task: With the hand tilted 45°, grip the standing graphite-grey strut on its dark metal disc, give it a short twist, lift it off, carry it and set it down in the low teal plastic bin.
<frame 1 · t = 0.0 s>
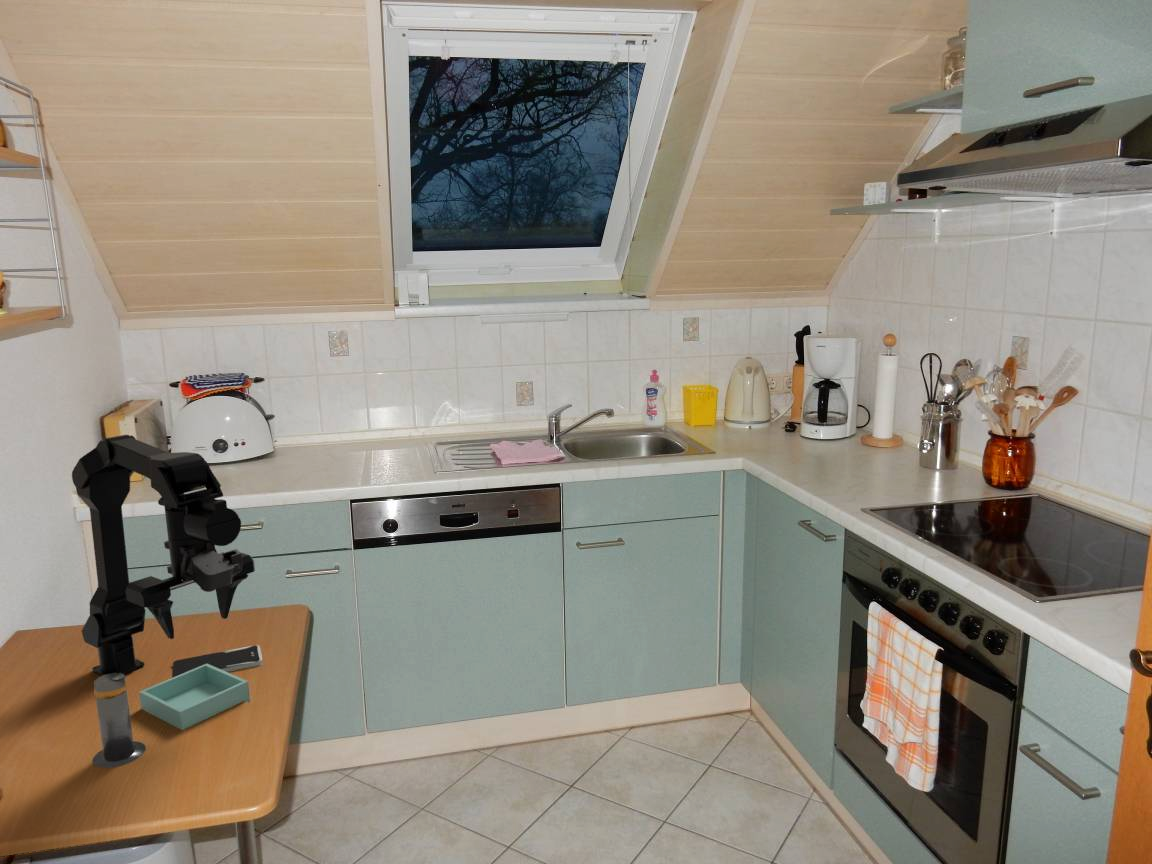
hand: (198, 628, 138), 15 cm above the table, tool pointing down, fingers open, 9 cm apart
smartphone: (218, 668, 158), on the table
bin: (196, 706, 142), on the table
strut: (119, 754, 128), point 1 cm above the table, touching dark metal disc
dark metal disc: (120, 757, 128), on the table
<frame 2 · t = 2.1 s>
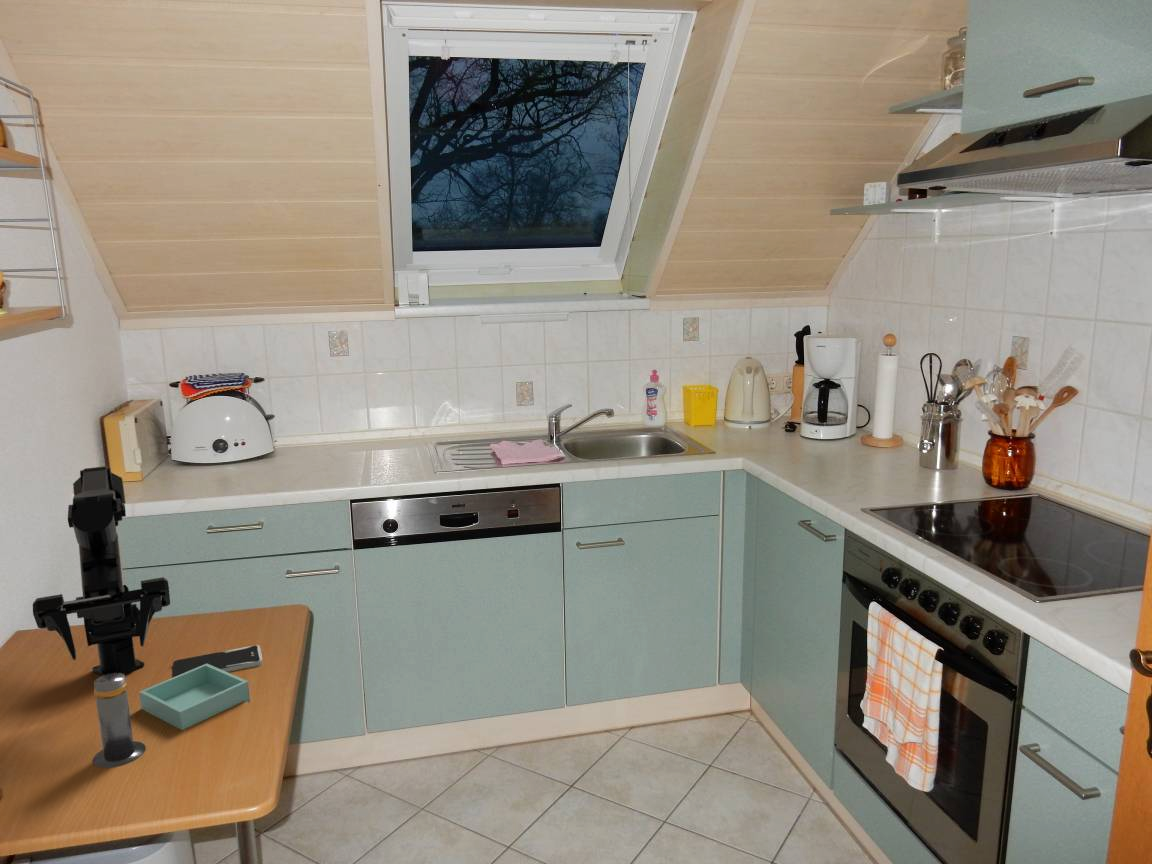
hand: (108, 652, 132), 13 cm above the table, tool tilted 45°, fingers open, 9 cm apart
nothing on the table moved.
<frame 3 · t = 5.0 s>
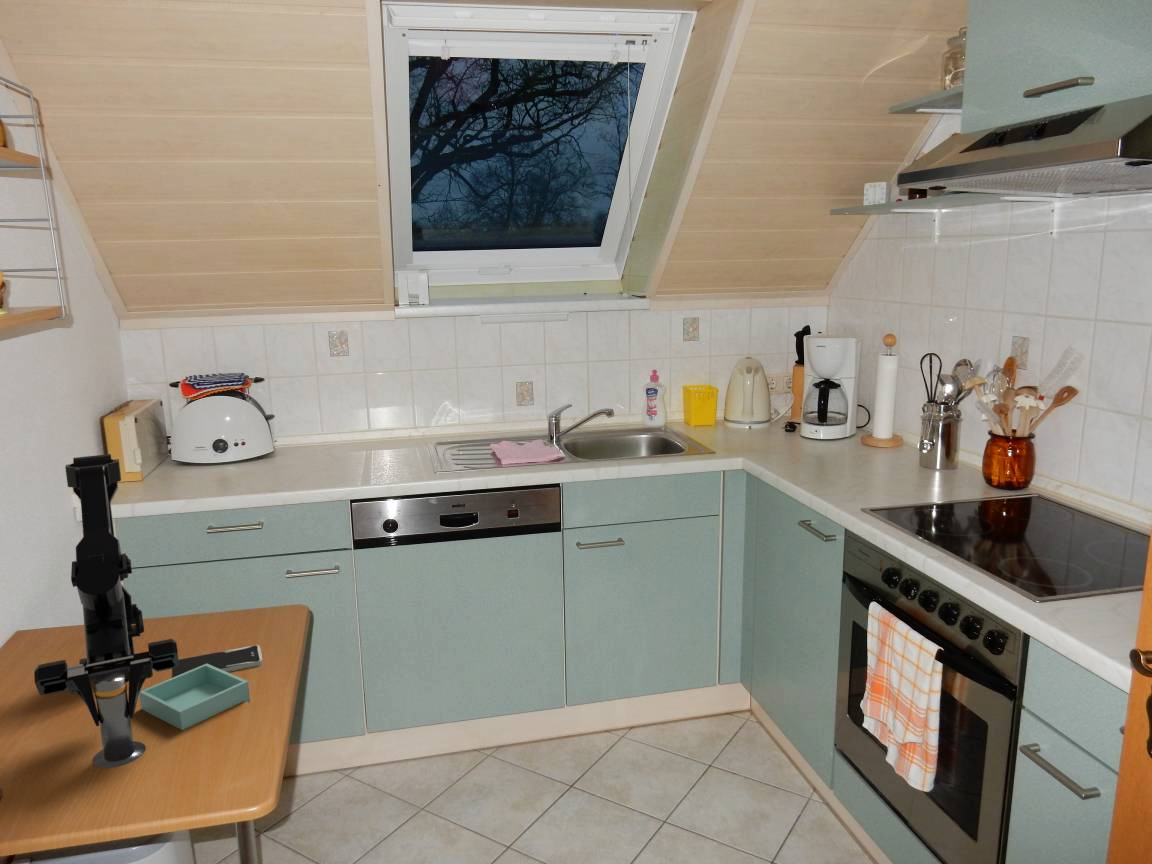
hand: (114, 721, 125), 7 cm above the table, tool tilted 45°, fingers closed on strut, 4 cm apart
strut: (119, 754, 128), point 1 cm above the table, touching gripper, dark metal disc
everything else where it was.
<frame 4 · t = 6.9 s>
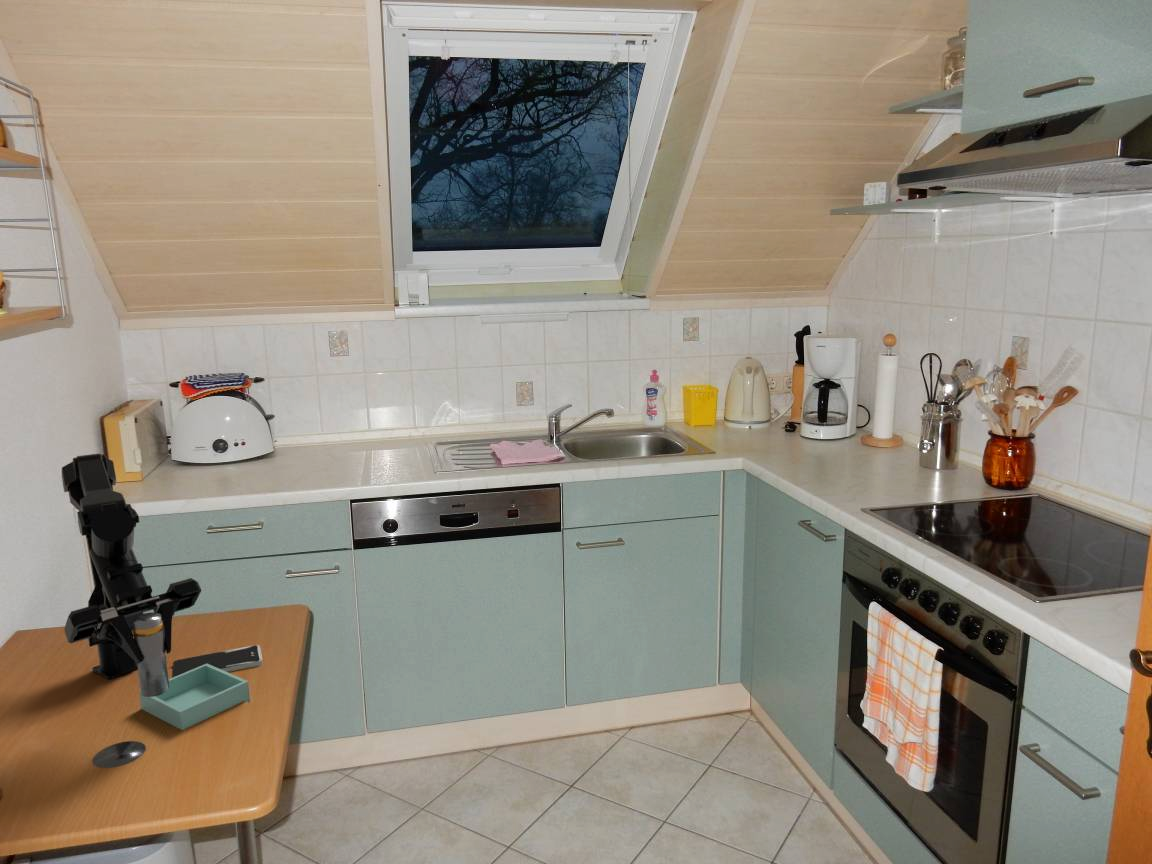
hand: (154, 657, 131), 13 cm above the table, tool tilted 45°, fingers closed on strut, 4 cm apart
strut: (155, 690, 133), point 7 cm above the table, touching gripper
everything else where it was.
when the fingers open (8 cm above the table, at t = 9.0 s): strut drops 1 cm, resting on bin.
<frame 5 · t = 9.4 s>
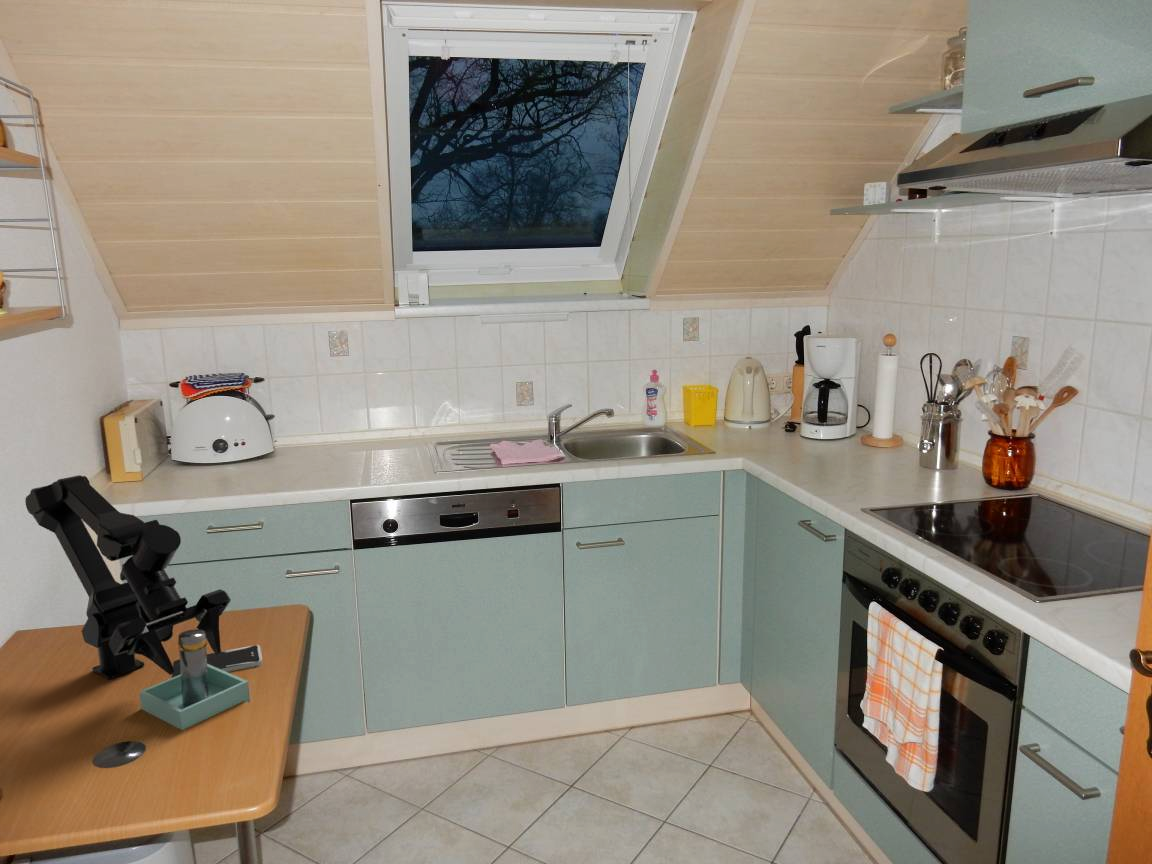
hand: (196, 663, 140), 8 cm above the table, tool tilted 45°, fingers open, 8 cm apart
strut: (195, 702, 142), point 1 cm above the table, touching bin
everything else where it was.
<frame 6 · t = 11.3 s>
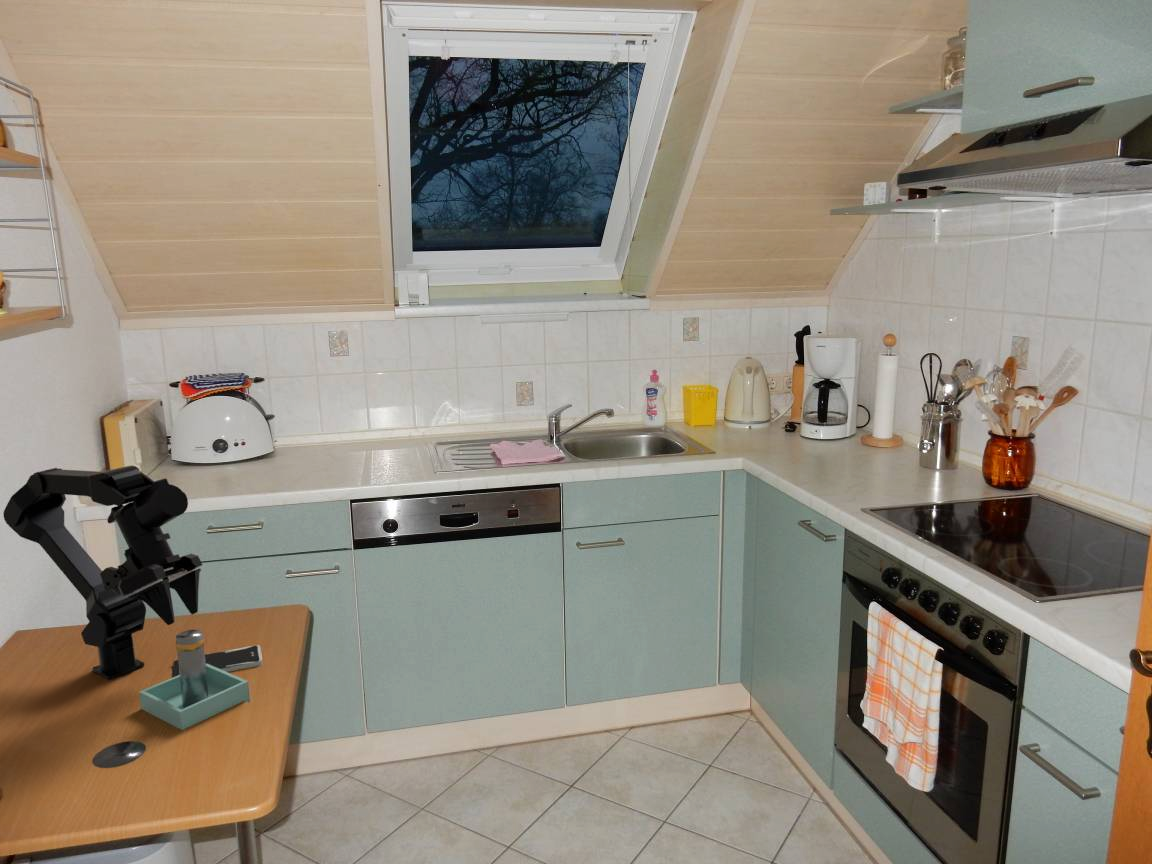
hand: (183, 618, 147), 13 cm above the table, tool tilted 25°, fingers open, 9 cm apart
nothing on the table moved.
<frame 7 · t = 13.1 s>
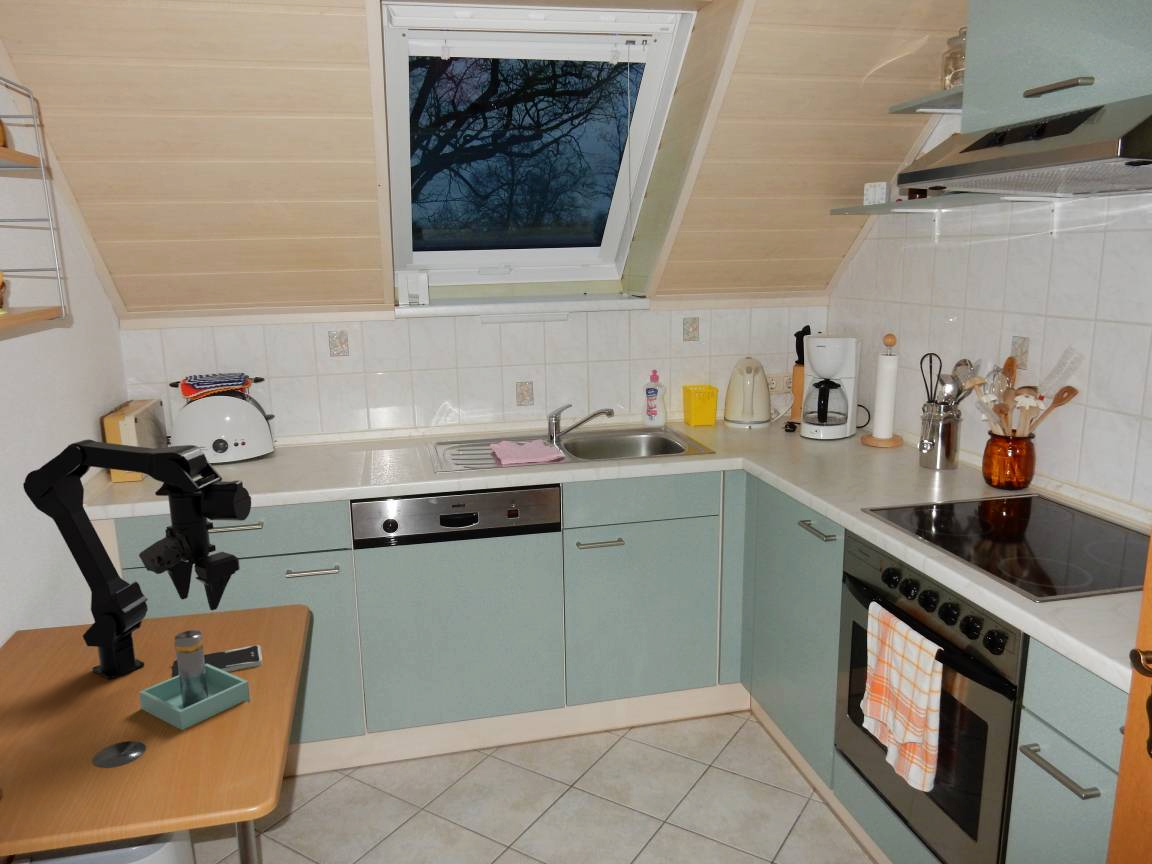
hand: (198, 604, 152), 13 cm above the table, tool pointing down, fingers open, 9 cm apart
nothing on the table moved.
at the end: strut inside the target area on the bin (0.1 cm from its centre), point 0.6 cm above the bin's base; the gripper is holding nothing; strut moved 15.7 cm from its start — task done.
